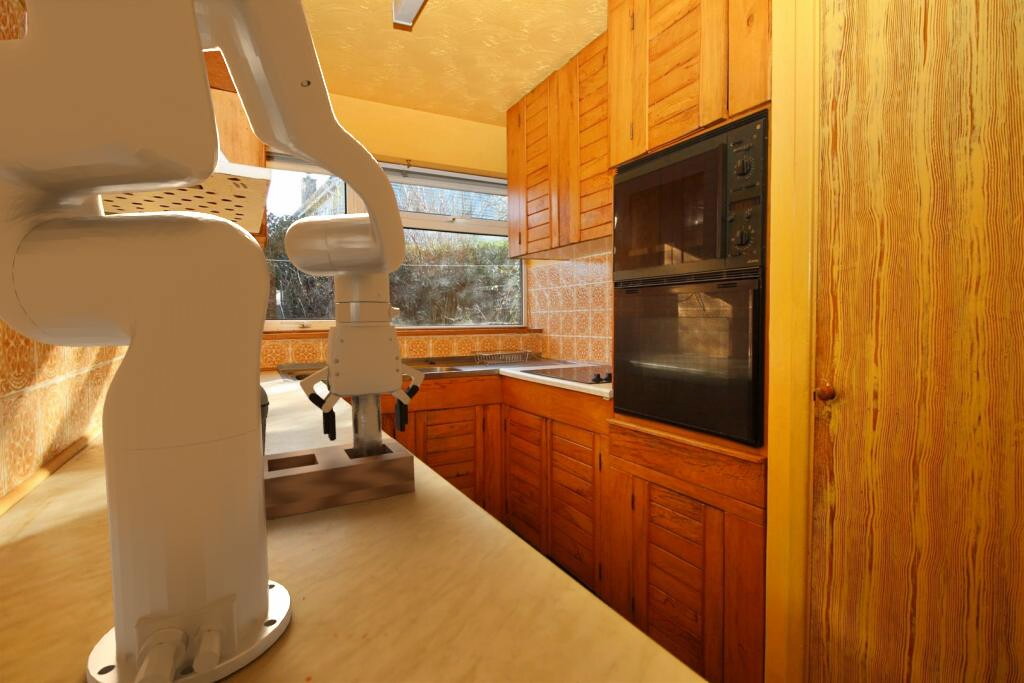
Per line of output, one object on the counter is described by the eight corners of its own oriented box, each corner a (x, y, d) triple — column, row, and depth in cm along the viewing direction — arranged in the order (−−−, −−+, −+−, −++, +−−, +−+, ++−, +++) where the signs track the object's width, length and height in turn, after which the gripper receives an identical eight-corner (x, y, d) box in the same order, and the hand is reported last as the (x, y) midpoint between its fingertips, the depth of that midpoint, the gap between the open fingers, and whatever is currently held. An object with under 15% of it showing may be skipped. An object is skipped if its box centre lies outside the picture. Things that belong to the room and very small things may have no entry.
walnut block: (393, 468, 76) (392, 437, 76) (414, 490, 65) (413, 455, 65) (253, 491, 67) (251, 457, 66) (251, 522, 56) (249, 481, 56)
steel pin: (386, 476, 67) (382, 393, 67) (357, 481, 66) (353, 396, 65) (379, 468, 71) (376, 390, 70) (352, 473, 69) (349, 392, 69)
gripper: (414, 316, 75) (417, 422, 75) (295, 317, 67) (300, 437, 67) (429, 315, 68) (432, 431, 69) (299, 316, 60) (304, 448, 61)
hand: (367, 434), depth 68 cm, fingers open, 9 cm apart
